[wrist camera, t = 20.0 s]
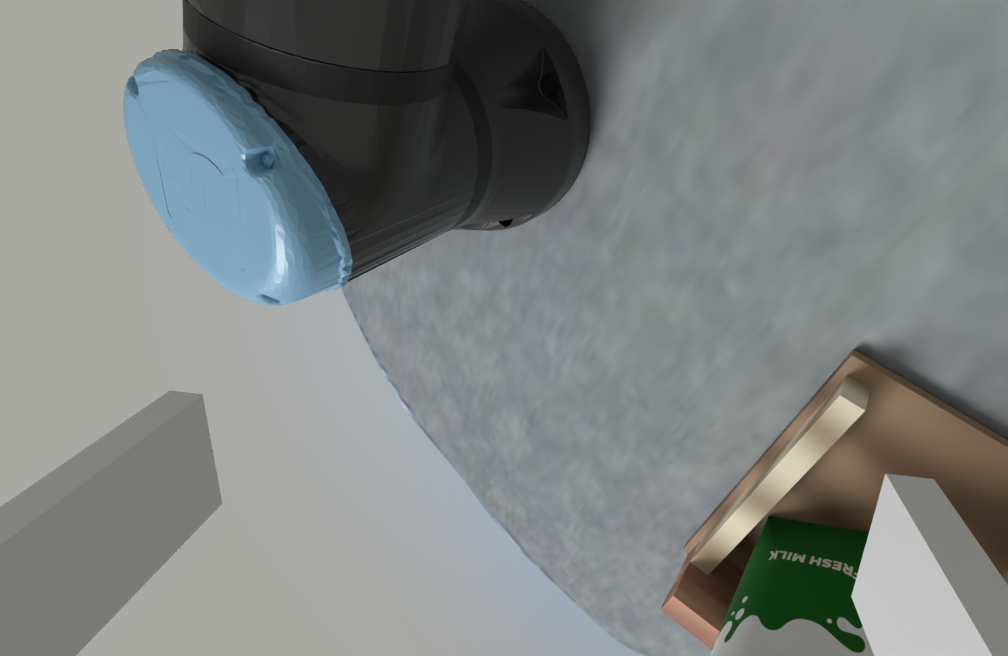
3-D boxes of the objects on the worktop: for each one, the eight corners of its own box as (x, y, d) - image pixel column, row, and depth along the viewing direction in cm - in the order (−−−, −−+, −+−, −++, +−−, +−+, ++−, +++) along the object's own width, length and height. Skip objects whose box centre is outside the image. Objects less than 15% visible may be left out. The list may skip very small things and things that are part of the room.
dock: (853, 349, 38) (834, 405, 33) (1144, 520, 34) (1173, 616, 29) (686, 543, 51) (654, 604, 46) (880, 685, 47) (868, 771, 42)
